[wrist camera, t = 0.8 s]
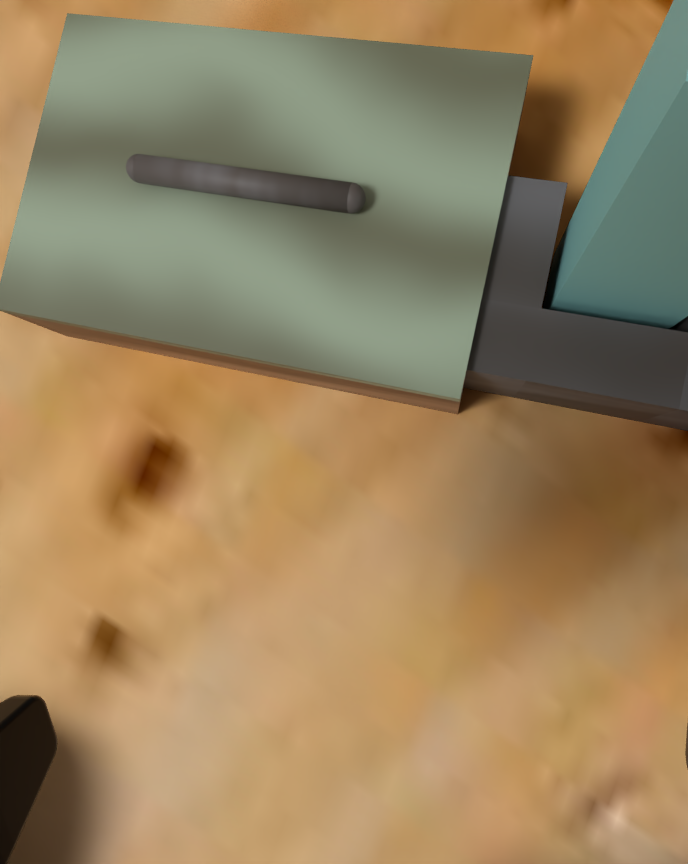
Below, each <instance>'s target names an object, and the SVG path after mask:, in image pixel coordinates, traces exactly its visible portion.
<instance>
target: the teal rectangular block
mask: <svg viewBox="0 0 688 864" xmlns="http://www.w3.org/2000/svg"><path fill="white" fill-rule="evenodd" d="M543 309H548V310H554V311H560V312H566V313H572V314H578V315H584V316H590V317H596V318H603V319H609V320H615V321H621V322H627V323H633V324H639V325H645V326H651V327H657V328H664V329H670V328H671V327H673V326H674V325H675V324H677V323H678V322H680V321H681V320H683V319H684V318H686V317H687V316H688V0H674V1H673V3H672V5H671V8H670V10H669V12H668V14H667V16H666V18H665V20H664V22H663V25H662V27H661V29H660V31H659V33H658V35H657V37H656V39H655V42H654V44H653V46H652V48H651V50H650V52H649V54H648V56H647V58H646V61H645V63H644V65H643V67H642V69H641V71H640V73H639V75H638V78H637V80H636V82H635V84H634V86H633V88H632V90H631V92H630V95H629V97H628V99H627V101H626V103H625V105H624V107H623V109H622V112H621V114H620V116H619V118H618V120H617V122H616V124H615V126H614V129H613V131H612V133H611V135H610V137H609V139H608V141H607V143H606V146H605V148H604V150H603V152H602V154H601V156H600V158H599V160H598V163H597V165H596V167H595V169H594V171H593V173H592V175H591V177H590V180H589V182H588V184H587V186H586V188H585V190H584V192H583V194H582V197H581V199H580V201H579V203H578V205H577V207H576V209H575V211H574V214H573V216H572V218H571V220H570V222H569V224H568V226H567V228H566V231H565V233H564V235H563V237H562V239H561V241H560V243H559V245H558V248H557V250H556V252H555V254H554V258H553V263H552V268H551V272H550V277H549V282H548V287H547V292H546V296H545V301H544V306H543Z"/></svg>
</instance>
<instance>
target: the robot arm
mask: <svg viewBox="0 0 688 864" xmlns="http://www.w3.org/2000/svg"><path fill="white" fill-rule="evenodd" d="M56 749H57V736H56V733H55V730H54V727H53V724H52V721H51V718H50V715H49V712H48V709H47V706H46V703H45V701H44V700H43V699H42V698H41V697H40V696H36V695H17V696H12V697H10V698H8V699H6V700H5V701H3V702H1V703H0V864H7V862H8V860H9V857H10V855H11V853H12V851H13V849H14V847H15V845H16V842H17V840H18V838H19V836H20V833H21V831H22V829H23V827H24V824H25V822H26V820H27V818H28V815H29V813H30V811H31V809H32V806H33V804H34V802H35V800H36V797H37V795H38V793H39V791H40V788H41V786H42V784H43V781H44V779H45V777H46V775H47V772H48V770H49V768H50V766H51V763H52V761H53V759H54V756H55V753H56ZM686 763H687V768H688V725H687V738H686Z"/></svg>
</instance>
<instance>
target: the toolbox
mask: <svg viewBox="0 0 688 864" xmlns="http://www.w3.org/2000/svg"><path fill="white" fill-rule="evenodd" d="M532 59H533V55H523V54H512V53H501V52H490V51H478V50H467V49H456V48H445V47H434V46H423V45H412V44H401V43H390V42H379V41H368V40H356V39H345V38H334V37H323V36H312V35H301V34H290V33H279V32H268V31H257V30H246V29H235V28H223V27H212V26H201V25H190V24H179V23H168V22H157V21H146V20H135V19H124V18H113V17H101V16H90V15H79V14H68V13H67V17H66V21H65V25H64V29H63V33H62V37H61V41H60V45H59V49H58V53H57V57H56V61H55V65H54V69H53V73H52V77H51V81H50V85H49V89H48V93H47V97H46V101H45V105H44V109H43V113H42V117H41V121H40V125H39V129H38V133H37V137H36V141H35V145H34V149H33V153H32V157H31V161H30V165H29V169H28V173H27V177H26V181H25V185H24V189H23V193H22V197H21V201H20V205H19V209H18V213H17V217H16V221H15V225H14V229H13V233H12V237H11V241H10V246H9V250H8V254H7V258H6V262H5V266H4V270H3V274H2V278H1V282H0V311H3V312H5V313H8V314H10V315H13V316H16V317H18V318H21V319H23V320H26V321H29V322H31V323H34V324H37V325H39V326H42V327H44V328H47V329H50V330H52V331H55V332H57V333H60V334H63V335H65V336H69V337H74V338H79V339H84V340H89V341H94V342H99V343H104V344H109V345H114V346H119V347H124V348H129V349H134V350H139V351H144V352H149V353H154V354H159V355H164V356H169V357H174V358H179V359H184V360H189V361H194V362H199V363H204V364H209V365H214V366H219V367H224V368H229V369H234V370H239V371H244V372H249V373H254V374H259V375H264V376H269V377H274V378H279V379H284V380H289V381H294V382H299V383H304V384H309V385H314V386H319V387H324V388H329V389H334V390H339V391H344V392H349V393H354V394H359V395H364V396H369V397H374V398H379V399H384V400H389V401H394V402H399V403H404V404H409V405H414V406H419V407H424V408H429V409H434V410H439V411H444V412H449V413H454V414H458V411H459V406H460V401H461V397H462V392H463V388H468V389H473V390H478V391H483V392H488V393H494V394H499V395H504V396H509V397H514V398H520V399H525V400H530V401H535V402H541V403H546V404H551V405H556V406H561V407H567V408H572V409H577V410H582V411H587V412H593V413H598V414H603V415H608V416H614V417H619V418H624V419H629V420H634V421H640V422H645V423H650V424H655V425H661V426H666V427H671V428H676V429H681V430H687V431H688V316H687V317H686V318H684V319H683V320H681V321H680V322H678V323H677V324H675V325H674V326H673V327H671V328H670V329H664V328H657V327H651V326H645V325H639V324H633V323H627V322H621V321H615V320H609V319H603V318H596V317H590V316H584V315H578V314H572V313H566V312H560V311H554V310H548V309H542V303H543V298H544V293H545V289H546V284H547V279H548V274H549V269H550V265H551V260H552V255H553V250H554V245H555V241H556V236H557V231H558V226H559V221H560V217H561V212H562V207H563V202H564V197H565V193H566V188H567V183H564V182H556V181H548V180H540V179H532V178H524V177H516V176H509V171H510V166H511V162H512V157H513V152H514V148H515V143H516V138H517V133H518V129H519V124H520V119H521V114H522V109H523V104H524V99H525V94H526V89H527V84H528V79H529V74H530V69H531V64H532Z"/></svg>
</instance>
